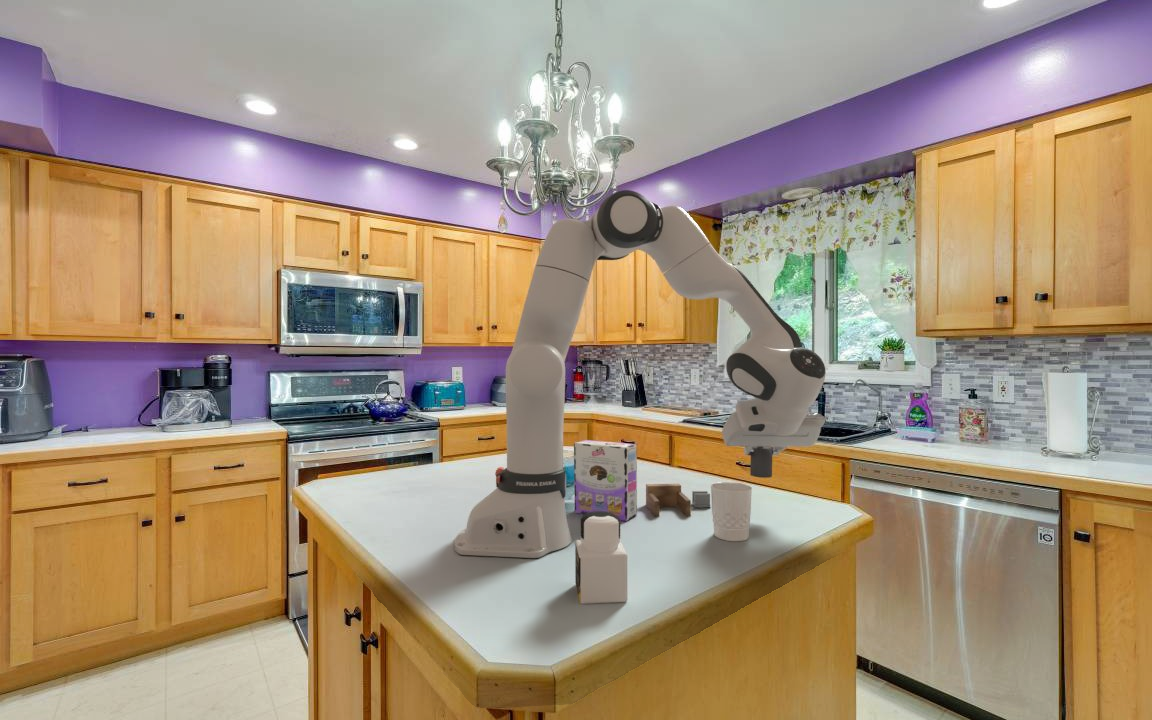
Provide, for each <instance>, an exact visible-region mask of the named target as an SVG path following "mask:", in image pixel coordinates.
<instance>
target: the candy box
mask: <svg viewBox="0 0 1152 720" xmlns="http://www.w3.org/2000/svg"><path fill="white" fill-rule="evenodd" d="M637 449H638V448H637V444H634V443H625V442H613V441H604V440H603V441H602V440H600V441H599V440H591V439H590V440H589V439H585V440H581V441H580V440H579V441H577V442H574V443H573V468H574V469H573V475H574V477H573V481H574V482H573V483H574V484H573V485H574V510H573V511H574V513H576V514H581V515H585V514H587V513H590V512H595V511H604V512H610V513H613V514H615V515H617V516H618V517H619V518H620V521H623V522H627V521H629V520H631V519H633V518H634V517H636V516H637V515H638V498H637V497H638V477H637V476H638V474H637V472H638V471H637V470H638V468H637V467H638V465H637V464H638V463H637V462H638V460H637V458H638V456H637V455H638V454H637V453H638V452H637Z"/></svg>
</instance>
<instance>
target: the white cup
mask: <svg viewBox="0 0 1152 720" xmlns="http://www.w3.org/2000/svg"><path fill="white" fill-rule="evenodd" d="M752 492H753V491H752V486H750V485H748V484H745V483H740V482H733V481H730V482H729V481H719V482H713V483H711V485H710V498H711V515H712V523H713V535H714V537H716V538H717V539H720V540H723V541H727V542H744V541H747V540H749V537H750V523H751V514H752V513H751V511H752Z"/></svg>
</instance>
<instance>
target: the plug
mask: <svg viewBox="0 0 1152 720" xmlns="http://www.w3.org/2000/svg"><path fill="white" fill-rule="evenodd" d="M752 447H753V448H752V449H753V450H754V452H753V454H752V455H750V469H749V470H750V476H752V477H754V478H762V479H763V478H765V479H767V478H769V479H770V478H772V477H773V455H772V448H771V447H768V446H752Z"/></svg>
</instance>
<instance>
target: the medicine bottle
mask: <svg viewBox="0 0 1152 720" xmlns="http://www.w3.org/2000/svg"><path fill="white" fill-rule="evenodd" d="M574 545H575V548H574V549H575V551H574V552H575V553H574V554H575V561H574V562H575V565H574V566H575V576H574V577H575V581H574V582H575V587H576V593H577V598H578V602H579V604H580V605H587V604H609V603H610V604H613V603H616V604H617V603H627V601H628V554H627V552H626V549H625V548H624V546H623V543H622V541H621V520H620V518H619V517H618V516H617V515H615V514H613V513H610V512H604V511H595V512H590V513H587V514H582V517H581V518H580V539H576V540H575V543H574Z"/></svg>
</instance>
